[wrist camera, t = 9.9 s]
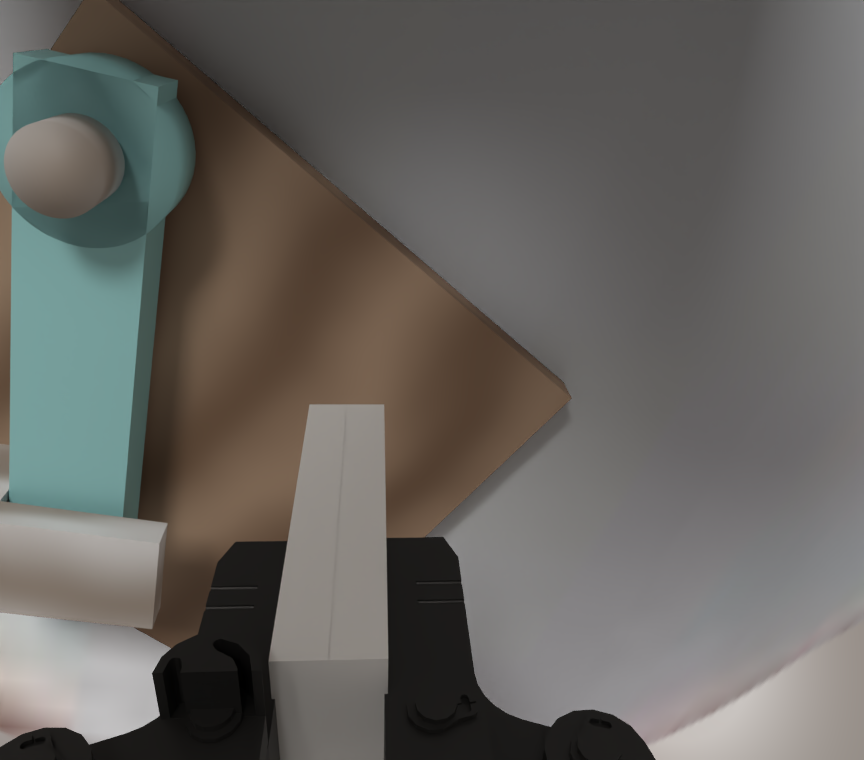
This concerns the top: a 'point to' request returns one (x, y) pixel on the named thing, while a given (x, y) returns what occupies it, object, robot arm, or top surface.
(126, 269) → the latch bar
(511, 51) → the top surface
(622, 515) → the top surface
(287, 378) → the pivot board
